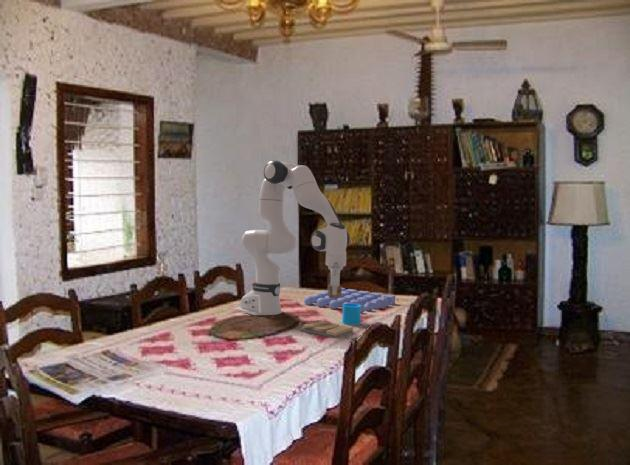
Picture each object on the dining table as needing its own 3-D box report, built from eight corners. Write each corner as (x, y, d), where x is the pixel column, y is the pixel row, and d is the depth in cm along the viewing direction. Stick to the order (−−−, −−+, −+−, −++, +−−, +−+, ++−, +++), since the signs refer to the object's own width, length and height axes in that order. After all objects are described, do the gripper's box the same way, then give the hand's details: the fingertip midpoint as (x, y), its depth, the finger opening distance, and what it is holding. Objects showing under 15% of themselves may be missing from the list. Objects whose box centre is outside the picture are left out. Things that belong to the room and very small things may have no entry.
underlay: (299, 331, 293) (299, 325, 293) (317, 325, 305) (317, 320, 305) (336, 338, 284) (336, 332, 284) (352, 331, 296) (353, 326, 296)
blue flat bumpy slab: (395, 305, 359) (395, 295, 359) (363, 315, 330) (363, 305, 330) (337, 295, 378) (337, 287, 377) (302, 305, 349) (302, 295, 348)
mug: (356, 326, 307) (357, 307, 306) (339, 323, 310) (340, 305, 309) (365, 320, 318) (366, 303, 317) (349, 318, 321) (349, 301, 320)
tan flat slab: (302, 327, 294) (303, 324, 293) (318, 322, 304) (318, 319, 304) (325, 332, 288) (325, 329, 288) (339, 327, 298) (339, 324, 298)
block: (328, 295, 300) (328, 284, 299) (339, 295, 300) (339, 284, 300) (329, 297, 295) (330, 286, 294) (341, 298, 295) (341, 286, 295)
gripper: (343, 265, 285) (342, 298, 287) (343, 258, 306) (341, 289, 307) (328, 264, 286) (326, 297, 287) (328, 257, 306) (327, 288, 308)
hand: (334, 293), depth 297 cm, fingers closed on block, 5 cm apart
